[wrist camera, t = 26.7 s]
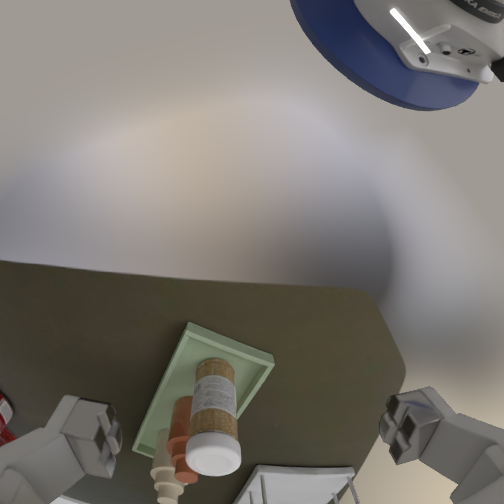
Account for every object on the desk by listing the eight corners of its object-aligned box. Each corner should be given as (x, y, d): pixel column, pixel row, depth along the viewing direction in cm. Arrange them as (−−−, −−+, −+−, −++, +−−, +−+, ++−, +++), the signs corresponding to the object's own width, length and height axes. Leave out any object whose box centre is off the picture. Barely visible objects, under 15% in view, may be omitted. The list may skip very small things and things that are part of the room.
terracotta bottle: (212, 396, 34) (210, 466, 23) (213, 423, 35) (212, 490, 24) (171, 394, 33) (157, 462, 23) (175, 421, 35) (165, 487, 24)
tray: (188, 321, 32) (186, 329, 30) (272, 354, 33) (275, 364, 32) (134, 440, 36) (131, 450, 34) (198, 462, 38) (197, 472, 36)
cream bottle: (192, 429, 35) (186, 494, 24) (194, 450, 36) (190, 512, 26) (155, 426, 35) (142, 489, 24) (160, 448, 36) (150, 507, 25)
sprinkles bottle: (219, 392, 34) (219, 483, 21) (187, 373, 33) (174, 464, 20) (243, 369, 33) (253, 461, 20) (211, 348, 32) (206, 441, 19)
